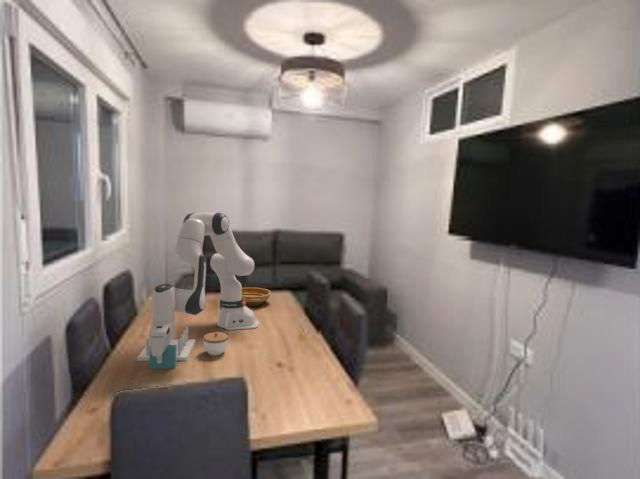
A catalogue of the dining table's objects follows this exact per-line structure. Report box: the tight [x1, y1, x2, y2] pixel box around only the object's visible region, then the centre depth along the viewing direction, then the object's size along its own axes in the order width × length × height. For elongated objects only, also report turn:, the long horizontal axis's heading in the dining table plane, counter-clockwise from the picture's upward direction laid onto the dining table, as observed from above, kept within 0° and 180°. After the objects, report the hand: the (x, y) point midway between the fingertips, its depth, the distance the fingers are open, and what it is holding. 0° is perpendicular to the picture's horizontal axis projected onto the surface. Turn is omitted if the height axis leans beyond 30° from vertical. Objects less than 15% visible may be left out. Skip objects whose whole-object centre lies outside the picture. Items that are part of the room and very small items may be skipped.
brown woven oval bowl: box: [242, 287, 272, 307], centre depth 252 cm, size 30×24×8 cm
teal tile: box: [149, 345, 178, 370], centre depth 157 cm, size 10×2×9 cm, turn 98°
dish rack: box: [136, 326, 196, 362], centre depth 172 cm, size 20×20×8 cm
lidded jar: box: [203, 331, 229, 357], centre depth 173 cm, size 11×11×9 cm
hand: (163, 357), depth 157 cm, fingers open, 8 cm apart
